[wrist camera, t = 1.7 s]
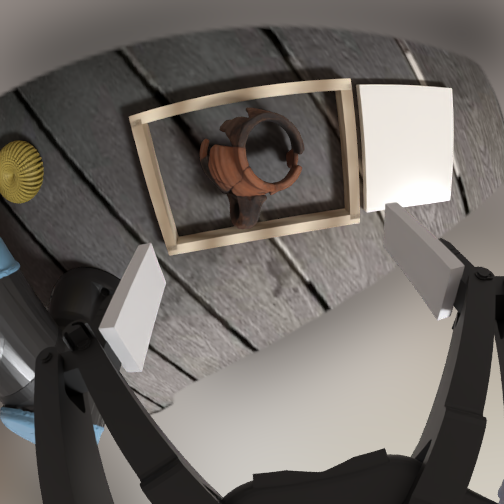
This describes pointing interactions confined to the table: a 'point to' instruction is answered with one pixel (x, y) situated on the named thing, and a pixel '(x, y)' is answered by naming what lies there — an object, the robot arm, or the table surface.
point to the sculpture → (20, 172)
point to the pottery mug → (247, 166)
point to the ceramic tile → (405, 144)
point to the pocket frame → (266, 227)
